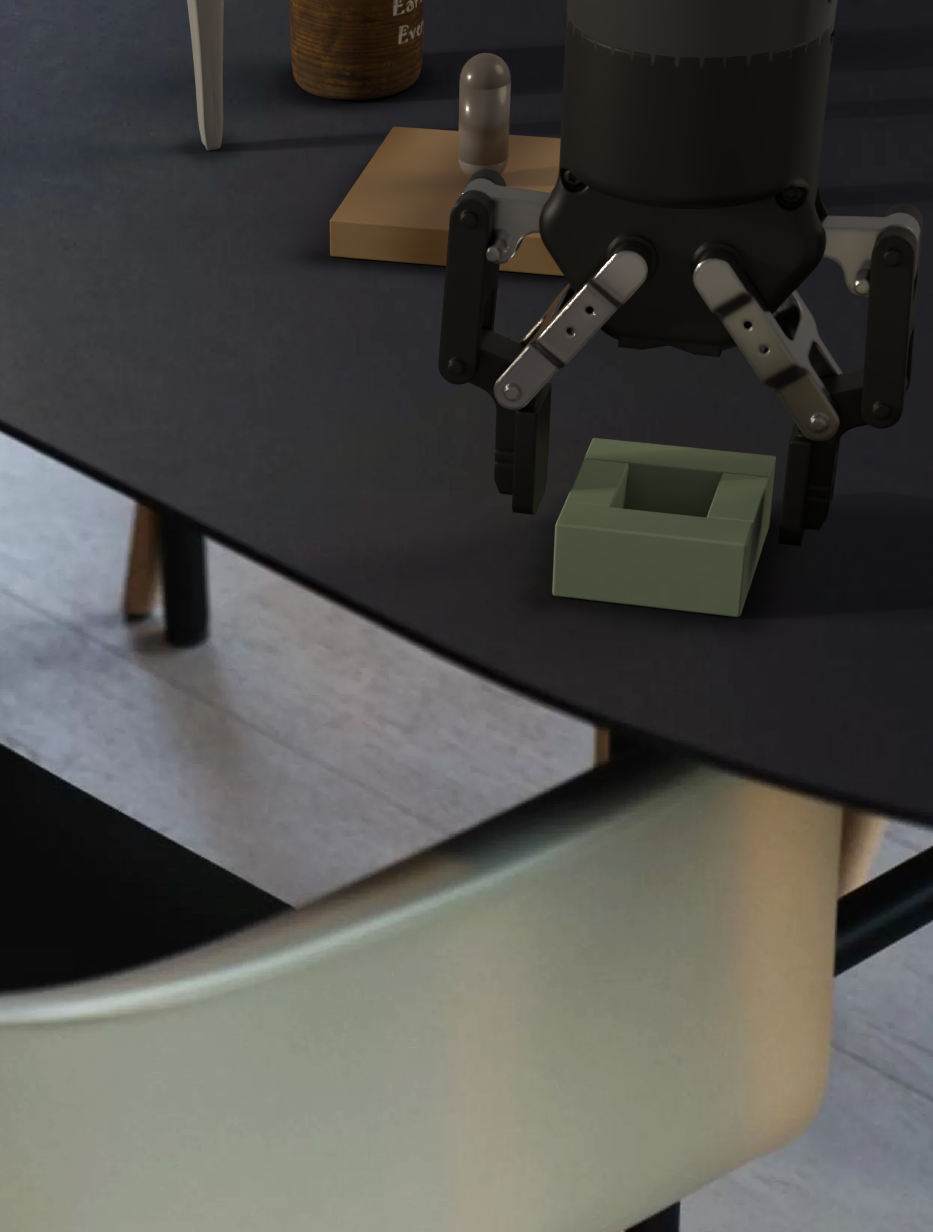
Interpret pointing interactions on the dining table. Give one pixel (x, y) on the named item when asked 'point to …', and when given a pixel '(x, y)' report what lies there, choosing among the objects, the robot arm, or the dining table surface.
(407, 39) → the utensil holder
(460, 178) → the base pad
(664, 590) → the green square ring block
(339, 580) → the dining table surface
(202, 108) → the pen
